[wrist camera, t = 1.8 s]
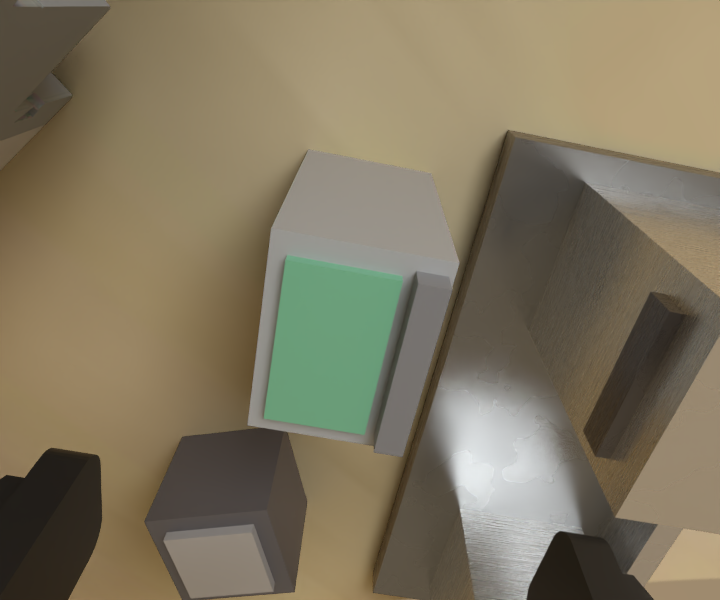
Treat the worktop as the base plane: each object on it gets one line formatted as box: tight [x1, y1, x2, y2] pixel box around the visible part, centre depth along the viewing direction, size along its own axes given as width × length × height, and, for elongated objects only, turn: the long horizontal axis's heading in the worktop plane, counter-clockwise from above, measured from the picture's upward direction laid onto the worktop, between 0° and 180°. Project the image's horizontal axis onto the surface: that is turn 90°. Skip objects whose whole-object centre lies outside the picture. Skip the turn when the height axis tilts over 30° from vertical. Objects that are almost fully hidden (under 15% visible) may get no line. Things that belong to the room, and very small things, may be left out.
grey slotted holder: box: [373, 130, 720, 600], centre depth 21 cm, size 24×11×10 cm, turn 169°
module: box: [248, 149, 459, 457], centre depth 18 cm, size 6×4×9 cm
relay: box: [144, 428, 307, 600], centre depth 25 cm, size 5×5×5 cm
